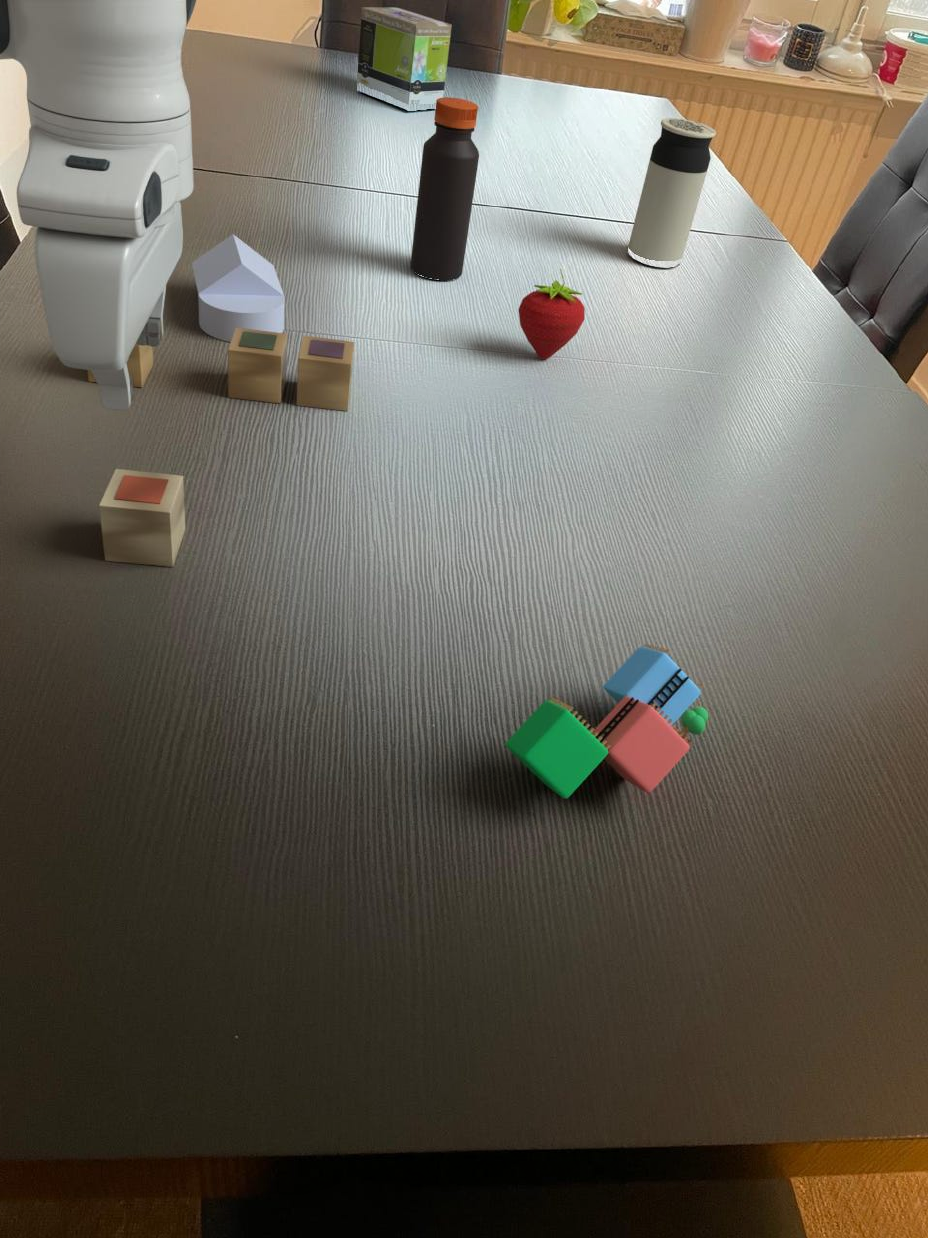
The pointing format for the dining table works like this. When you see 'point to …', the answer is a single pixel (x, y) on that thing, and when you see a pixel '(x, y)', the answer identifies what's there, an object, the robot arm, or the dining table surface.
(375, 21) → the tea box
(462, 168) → the bottle
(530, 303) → the strawberry
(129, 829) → the dining table surface
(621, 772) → the building blocks
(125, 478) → the maple block
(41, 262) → the robot arm
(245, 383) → the beech block
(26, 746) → the dining table surface
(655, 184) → the travel mug
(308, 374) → the beech block
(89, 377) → the beech block
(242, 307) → the wedge on round base
